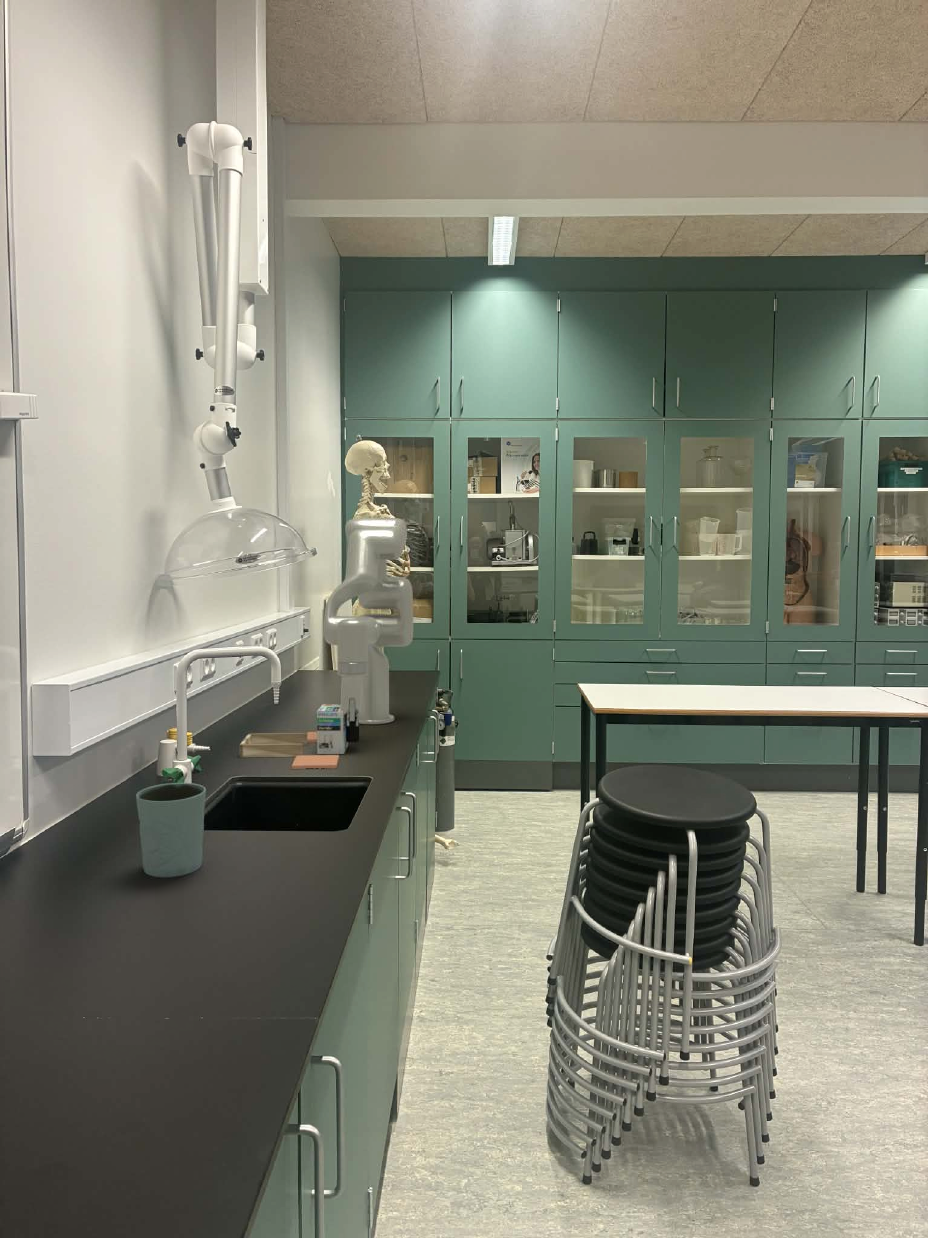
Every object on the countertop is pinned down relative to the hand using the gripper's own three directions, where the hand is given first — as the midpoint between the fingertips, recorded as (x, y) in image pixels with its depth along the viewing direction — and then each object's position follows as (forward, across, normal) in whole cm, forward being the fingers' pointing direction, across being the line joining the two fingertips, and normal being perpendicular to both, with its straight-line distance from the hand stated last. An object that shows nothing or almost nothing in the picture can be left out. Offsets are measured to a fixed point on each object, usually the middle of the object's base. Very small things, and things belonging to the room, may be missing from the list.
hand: (352, 741), depth 212 cm
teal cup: (+2, +80, -25) cm, 84 cm away
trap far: (+2, -14, -8) cm, 16 cm away
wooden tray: (+2, 0, -19) cm, 19 cm away
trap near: (+2, +14, -8) cm, 16 cm away
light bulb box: (+2, 0, -5) cm, 6 cm away
